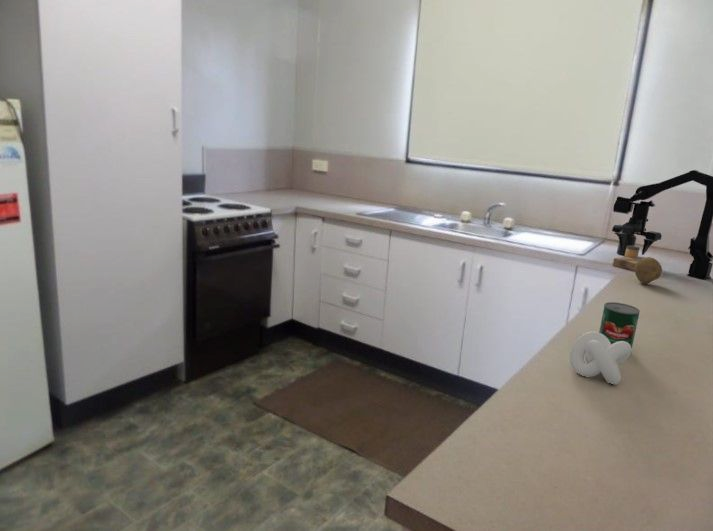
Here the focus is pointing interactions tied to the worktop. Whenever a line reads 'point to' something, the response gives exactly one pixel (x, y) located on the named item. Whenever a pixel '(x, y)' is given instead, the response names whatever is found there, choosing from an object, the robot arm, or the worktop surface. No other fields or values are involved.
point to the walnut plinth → (625, 263)
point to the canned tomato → (619, 322)
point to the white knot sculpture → (599, 356)
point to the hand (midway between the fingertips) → (632, 252)
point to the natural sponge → (647, 270)
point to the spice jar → (632, 251)
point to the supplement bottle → (629, 241)
